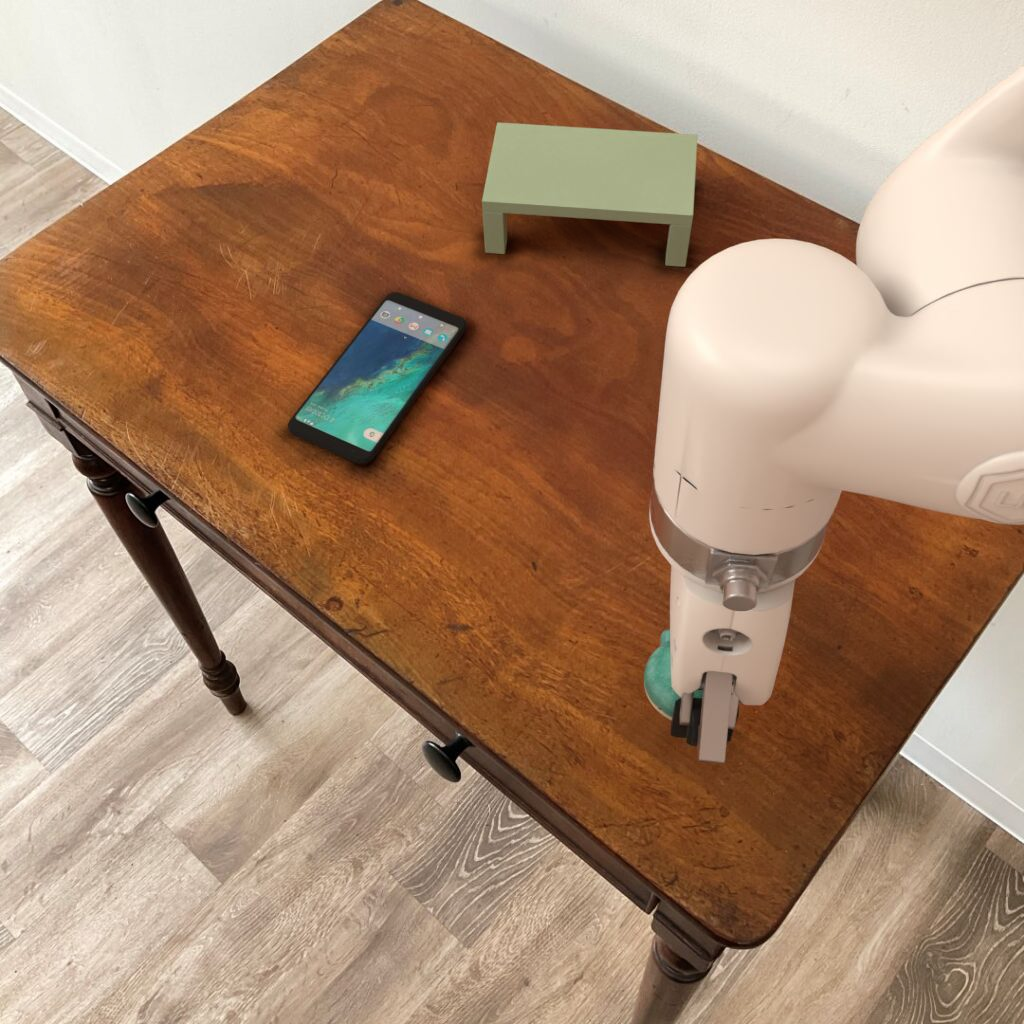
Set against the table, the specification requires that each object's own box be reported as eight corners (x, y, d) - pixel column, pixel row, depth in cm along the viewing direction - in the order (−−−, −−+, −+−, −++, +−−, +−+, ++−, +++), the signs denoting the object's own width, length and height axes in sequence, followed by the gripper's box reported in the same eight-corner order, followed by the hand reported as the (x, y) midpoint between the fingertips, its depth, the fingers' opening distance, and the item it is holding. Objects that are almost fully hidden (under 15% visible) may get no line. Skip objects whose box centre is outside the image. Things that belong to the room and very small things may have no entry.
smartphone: (470, 319, 84) (366, 464, 77) (471, 325, 85) (367, 470, 78) (391, 287, 86) (281, 427, 79) (392, 294, 87) (284, 433, 80)
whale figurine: (618, 681, 62) (620, 654, 59) (706, 600, 65) (713, 569, 62) (695, 754, 60) (701, 729, 57) (784, 666, 62) (795, 638, 59)
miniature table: (690, 188, 92) (697, 134, 87) (685, 267, 87) (693, 215, 83) (499, 175, 93) (497, 122, 89) (485, 253, 89) (481, 200, 84)
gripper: (837, 701, 42) (770, 831, 57) (826, 345, 51) (771, 539, 66) (637, 683, 43) (624, 815, 58) (662, 336, 52) (644, 530, 67)
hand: (702, 667), depth 62 cm, fingers closed on whale figurine, 7 cm apart
